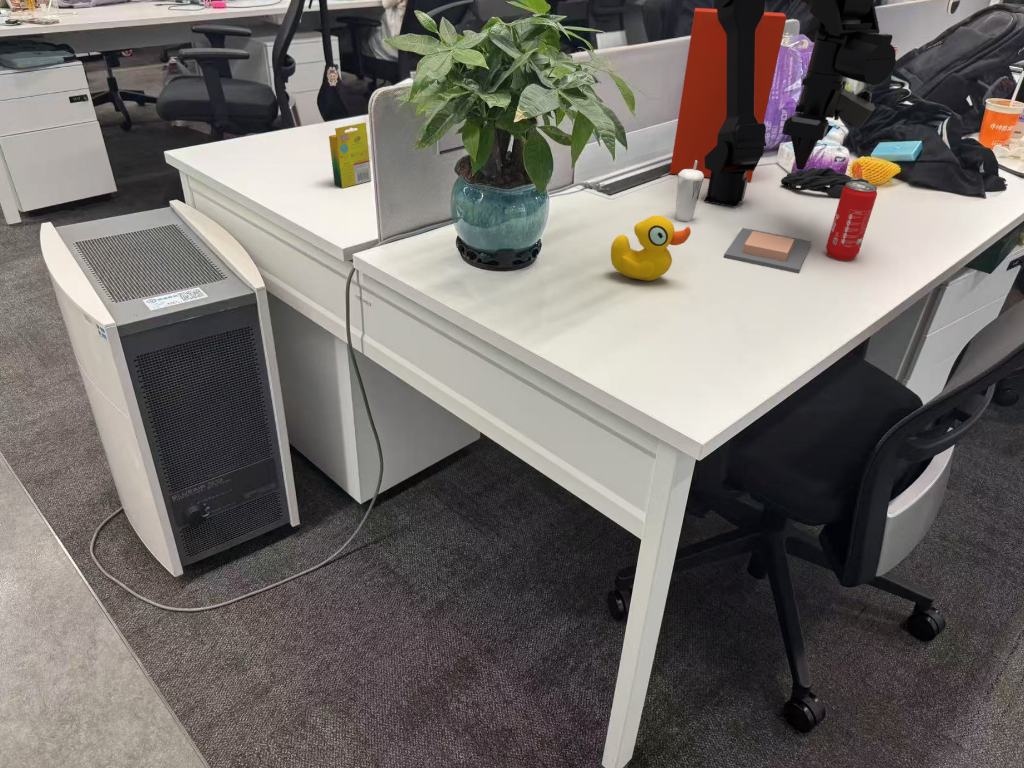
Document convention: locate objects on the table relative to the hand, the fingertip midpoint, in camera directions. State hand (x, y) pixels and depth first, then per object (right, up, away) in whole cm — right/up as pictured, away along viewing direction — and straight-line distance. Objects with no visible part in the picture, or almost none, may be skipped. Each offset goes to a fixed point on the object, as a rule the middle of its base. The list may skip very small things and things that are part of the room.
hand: (800, 169), depth 123 cm
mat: (-6, -14, -1) cm, 15 cm away
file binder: (-6, +10, +36) cm, 38 cm away
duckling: (-29, -21, -12) cm, 38 cm away
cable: (+16, +4, +30) cm, 34 cm away
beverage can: (+6, -15, -1) cm, 17 cm away
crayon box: (-82, +4, +23) cm, 85 cm away
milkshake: (-17, -6, +12) cm, 22 cm away
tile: (-5, -12, 0) cm, 13 cm away
